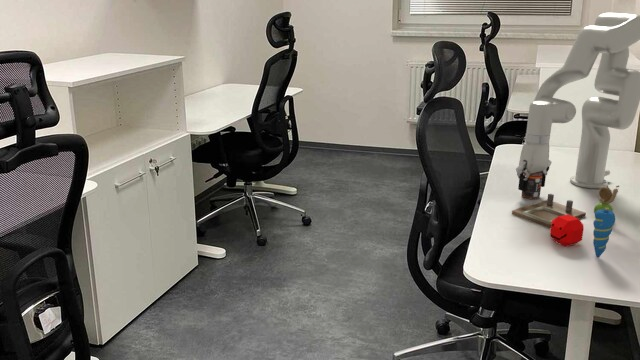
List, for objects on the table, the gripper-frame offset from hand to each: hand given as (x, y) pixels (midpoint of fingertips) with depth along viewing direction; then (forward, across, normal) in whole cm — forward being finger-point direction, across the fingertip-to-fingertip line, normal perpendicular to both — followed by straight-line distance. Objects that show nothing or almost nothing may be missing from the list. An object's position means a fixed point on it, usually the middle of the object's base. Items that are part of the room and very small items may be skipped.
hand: (531, 188), depth 209 cm
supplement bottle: (+4, 0, 0) cm, 4 cm away
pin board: (+3, +9, +14) cm, 17 cm away
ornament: (+4, +24, +41) cm, 48 cm away
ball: (+4, +23, +30) cm, 38 cm away
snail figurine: (+3, -3, +26) cm, 26 cm away
